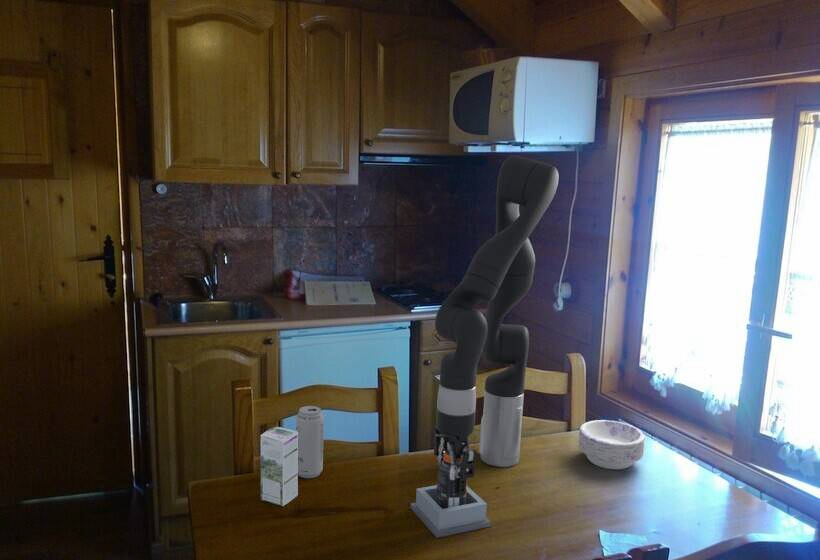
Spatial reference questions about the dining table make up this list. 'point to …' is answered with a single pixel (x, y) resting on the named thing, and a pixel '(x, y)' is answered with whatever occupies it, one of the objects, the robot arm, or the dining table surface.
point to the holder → (450, 513)
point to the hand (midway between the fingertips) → (451, 486)
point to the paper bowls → (611, 443)
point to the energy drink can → (310, 441)
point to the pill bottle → (448, 484)
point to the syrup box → (279, 465)
